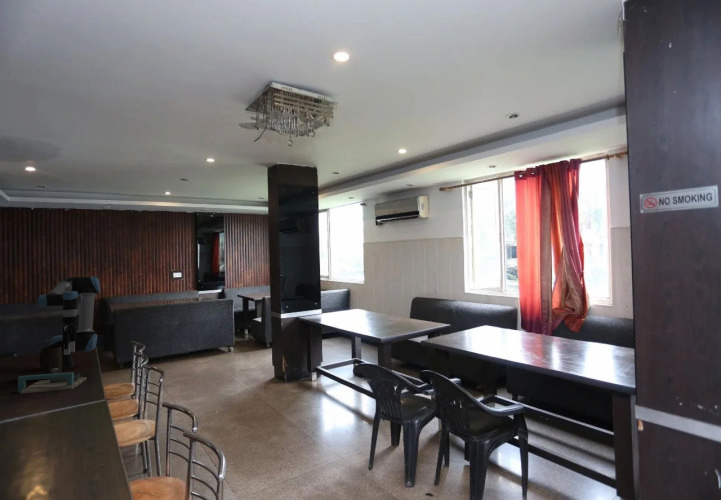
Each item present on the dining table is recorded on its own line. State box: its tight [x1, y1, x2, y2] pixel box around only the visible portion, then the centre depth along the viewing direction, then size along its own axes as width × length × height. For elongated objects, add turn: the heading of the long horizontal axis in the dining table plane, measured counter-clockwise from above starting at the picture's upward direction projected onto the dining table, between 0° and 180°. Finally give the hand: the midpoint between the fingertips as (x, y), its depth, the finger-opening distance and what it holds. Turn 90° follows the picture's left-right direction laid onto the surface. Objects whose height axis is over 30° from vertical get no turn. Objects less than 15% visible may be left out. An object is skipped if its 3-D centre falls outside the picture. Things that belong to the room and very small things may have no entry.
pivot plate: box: [19, 368, 87, 395], centre depth 234 cm, size 20×25×9 cm
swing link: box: [50, 373, 81, 382], centre depth 238 cm, size 15×4×3 cm, turn 105°
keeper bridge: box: [17, 371, 75, 393], centre depth 228 cm, size 2×26×8 cm, turn 105°
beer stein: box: [38, 346, 63, 381], centre depth 252 cm, size 15×11×20 cm
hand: (69, 353), depth 245 cm, fingers open, 6 cm apart
